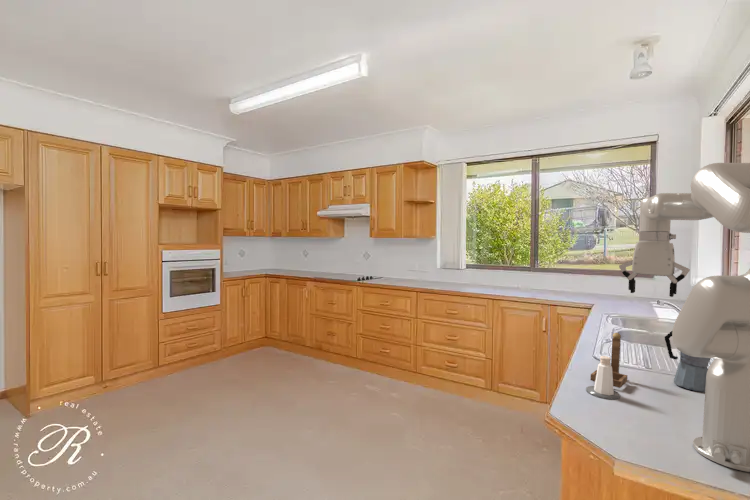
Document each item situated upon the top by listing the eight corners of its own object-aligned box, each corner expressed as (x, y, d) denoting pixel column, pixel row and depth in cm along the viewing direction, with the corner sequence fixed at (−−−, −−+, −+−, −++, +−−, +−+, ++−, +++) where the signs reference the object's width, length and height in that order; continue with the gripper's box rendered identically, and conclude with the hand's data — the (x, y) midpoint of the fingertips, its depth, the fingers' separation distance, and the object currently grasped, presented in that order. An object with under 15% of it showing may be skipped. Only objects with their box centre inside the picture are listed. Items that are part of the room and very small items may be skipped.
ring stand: (620, 391, 121) (622, 341, 121) (590, 383, 127) (592, 335, 127) (630, 380, 131) (633, 334, 130) (602, 373, 137) (604, 329, 136)
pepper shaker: (615, 392, 119) (617, 357, 119) (611, 397, 115) (613, 361, 115) (596, 387, 123) (598, 353, 122) (591, 391, 119) (593, 356, 118)
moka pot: (726, 395, 120) (730, 332, 119) (671, 390, 123) (674, 328, 122) (707, 384, 129) (710, 325, 129) (655, 379, 133) (659, 322, 132)
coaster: (615, 402, 113) (615, 400, 113) (581, 392, 119) (582, 390, 119) (623, 393, 119) (623, 392, 119) (591, 385, 126) (591, 383, 126)
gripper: (692, 238, 112) (689, 296, 113) (623, 238, 124) (620, 290, 125) (690, 238, 107) (687, 299, 107) (618, 237, 119) (615, 292, 119)
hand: (651, 294), depth 116 cm, fingers open, 9 cm apart
